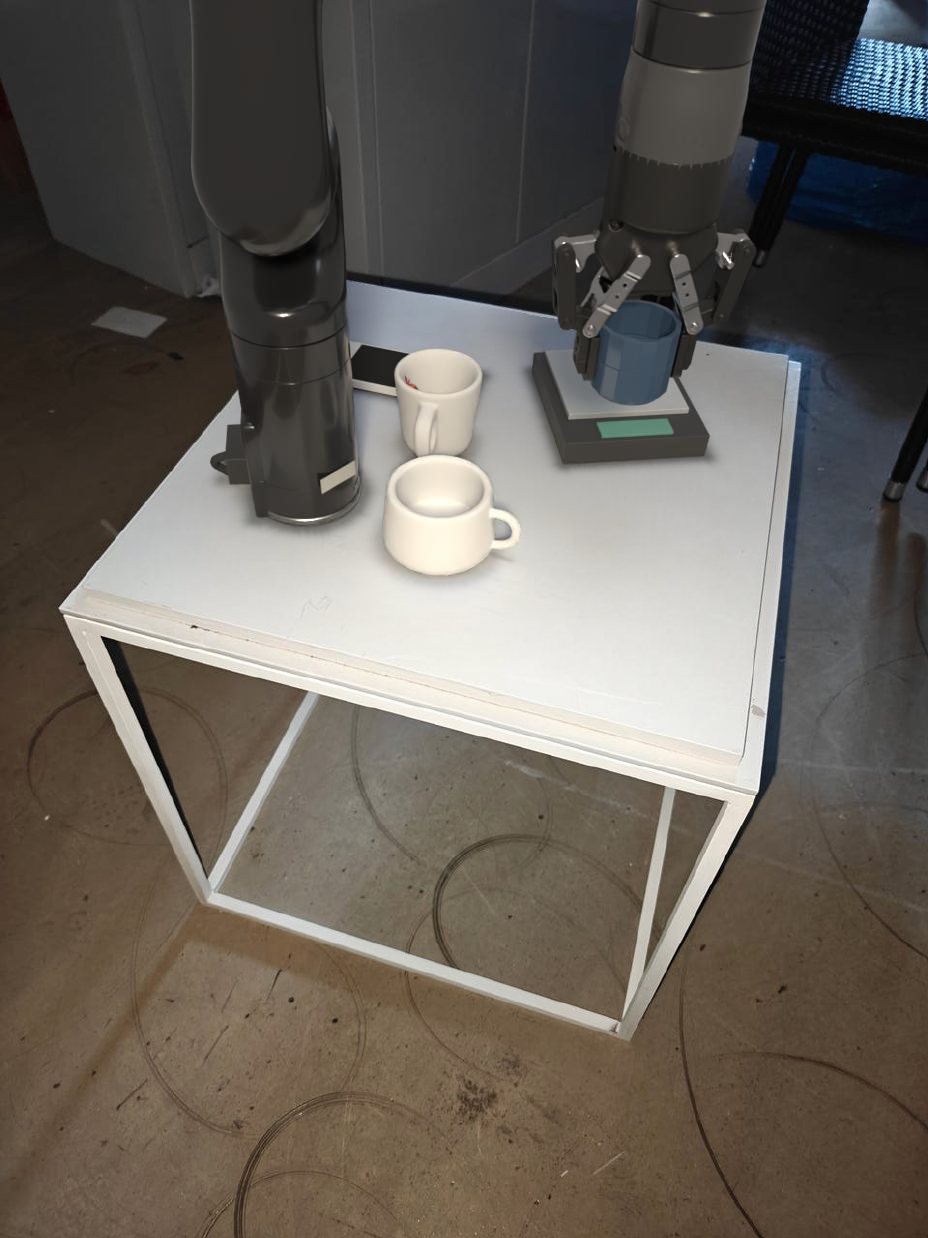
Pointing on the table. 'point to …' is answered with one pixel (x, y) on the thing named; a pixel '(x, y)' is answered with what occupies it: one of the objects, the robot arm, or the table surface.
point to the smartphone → (374, 367)
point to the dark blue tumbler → (636, 353)
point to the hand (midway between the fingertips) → (628, 372)
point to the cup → (438, 400)
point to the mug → (442, 516)
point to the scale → (614, 418)
